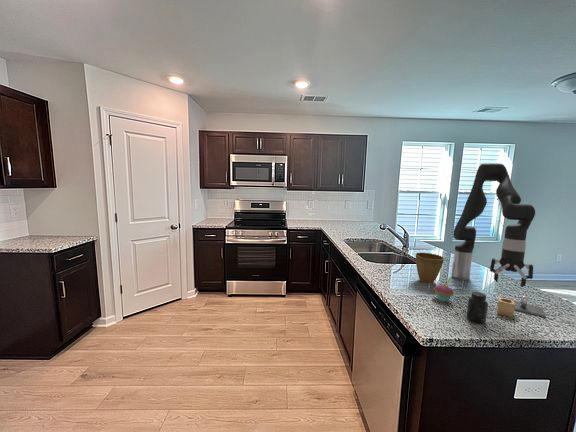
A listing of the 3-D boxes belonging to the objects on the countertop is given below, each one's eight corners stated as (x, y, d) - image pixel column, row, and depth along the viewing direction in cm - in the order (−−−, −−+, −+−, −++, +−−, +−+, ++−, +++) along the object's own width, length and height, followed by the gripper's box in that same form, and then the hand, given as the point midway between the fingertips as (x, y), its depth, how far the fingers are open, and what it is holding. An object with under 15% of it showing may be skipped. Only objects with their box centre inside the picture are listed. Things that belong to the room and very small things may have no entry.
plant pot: (414, 283, 146) (416, 257, 144) (412, 275, 160) (414, 251, 158) (443, 288, 141) (446, 260, 139) (438, 279, 155) (441, 254, 153)
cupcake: (450, 297, 129) (452, 275, 128) (455, 304, 121) (457, 281, 120) (431, 294, 132) (433, 272, 131) (435, 301, 124) (437, 278, 123)
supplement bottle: (462, 316, 110) (465, 290, 109) (476, 316, 111) (479, 290, 109) (475, 325, 103) (478, 297, 102) (490, 324, 104) (493, 297, 103)
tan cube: (496, 313, 114) (498, 300, 113) (496, 308, 118) (498, 296, 117) (513, 317, 110) (514, 304, 109) (512, 312, 114) (514, 300, 114)
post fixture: (504, 307, 119) (505, 295, 119) (503, 300, 127) (504, 289, 126) (545, 317, 111) (547, 304, 110) (541, 309, 118) (543, 297, 118)
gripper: (492, 247, 112) (488, 282, 114) (537, 253, 103) (531, 290, 105) (492, 244, 118) (488, 277, 120) (534, 250, 109) (529, 285, 111)
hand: (508, 283), depth 112 cm, fingers open, 8 cm apart
